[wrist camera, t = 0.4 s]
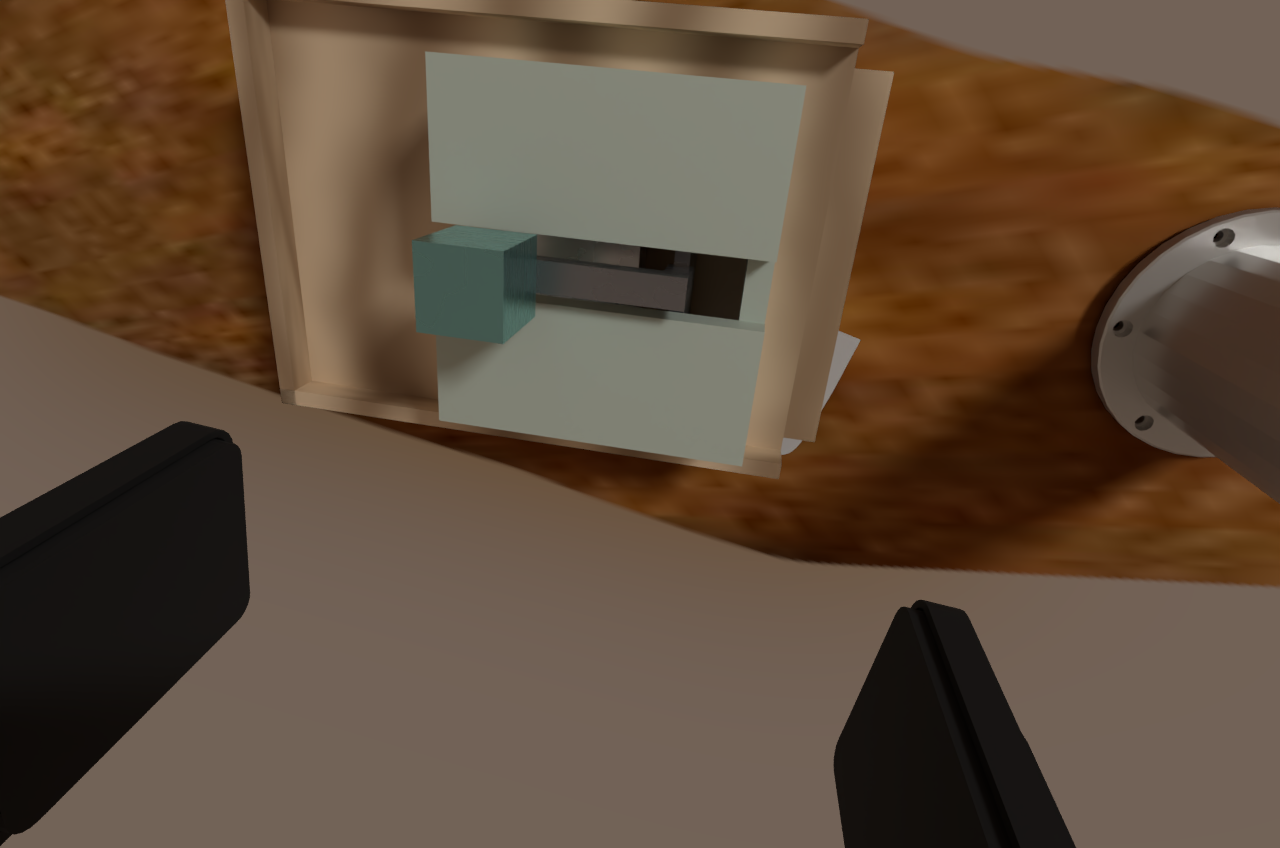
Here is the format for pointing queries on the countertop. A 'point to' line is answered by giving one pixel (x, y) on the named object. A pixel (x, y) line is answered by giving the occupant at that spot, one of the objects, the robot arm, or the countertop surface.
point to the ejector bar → (523, 282)
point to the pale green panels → (615, 213)
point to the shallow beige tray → (401, 211)
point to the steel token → (590, 254)
